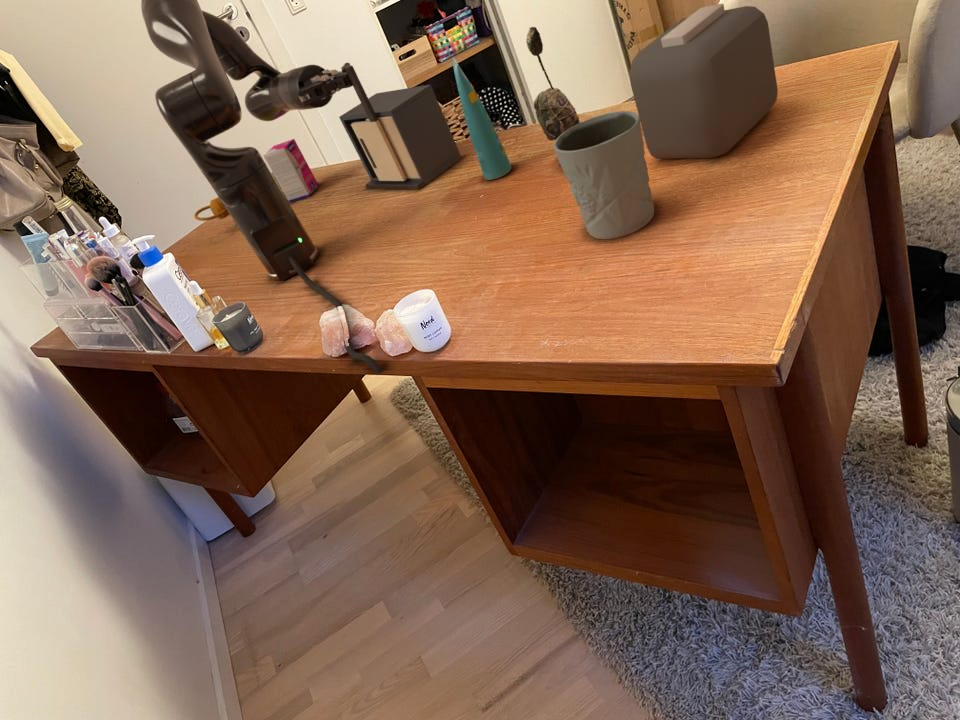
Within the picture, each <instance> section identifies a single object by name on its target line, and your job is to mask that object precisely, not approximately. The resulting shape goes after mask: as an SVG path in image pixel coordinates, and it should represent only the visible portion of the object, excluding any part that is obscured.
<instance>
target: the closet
mask: <svg viewBox="0 0 960 720" xmlns="http://www.w3.org/2000/svg"><path fill="white" fill-rule="evenodd" d="M368 99H369V101H370V103H371V105H372V108H373V110H374V112H375V114H376V116H377V118H378V120H379V122H380V124H381V126H382V128H383V131H384V133H385V135H386V137H387V139H388V141H389V143H390V145H391V147H392V149H393V151H394V153H395V156H396V158H397V160H398V162H399V164H400V166H401V168H402V170H403V172H404V174H405V176H406V178H407V179H406V180H405V181H379V179H378V177H377V175H376V173H375V171H374V169H373V168H372V166H371V164H370V162H369V160H368V158H367V156H366V154H365V152H364V150H363V148H362V146H361V144H360V142H359V140H358V138H357V136H356V134H355V132H354V130H353V128H352V126H351V124H352V123H353V122H362V121H370V120H369V118H368V116H367V114H366V112H365V110H364V108H363V106H362V104H361V102H360V103H359V104H357V105H356V106H354V107H352V108H350V109H349V110H347V111H346V112H345V113H343V114H342V115H340V116H339V117H338V118H339V120H340V122H341V124H342V126H343V128H344V130H345V132H346V134H347V136H348V138H349V139H350V142H351V144H352V145H353V147H354V149H355V151H356V153H357V155H358V157H359V159H360V161H361V163H362V165H363V167H364V170H365V171H366V173H367V176H368V177H369V179H370V180H369V181H368V182H367V183H364V186H365V187H366V189H373V190H374V189H375V190H376V189H377V190H378V189H379V190H382V189H383V190H405V191H406V190H409V191H412V190H413V191H419V190H421V189H422V188H424V187H425V186H426V185H428V184H429V183H431V182H432V181H433V180H435V179H436V178H438V177H439V176H440V175H441V174H443V173H444V172H445V171H447V170H448V169H449V168H451V167H453V165H454V164H456V163H458V161H460V160H461V159H462V158H463V157H462V155H461V153H460V150H459V147H458V146H457V143H456V141H455V139H454V136H453V134H452V131H451V130H450V127H449V125H448V121H447V120H446V117H445V115H444V113H443V110H442V109H441V105H440V103H439V101H438V98H437V96H436V94H435V91H434V89H433V87H432V85H431V84H426V85H419V86H414V87H406V88H401V89H394V90H389V91H382V92H376V93H375V94H373V95H371V96H370V97H368Z"/></svg>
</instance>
